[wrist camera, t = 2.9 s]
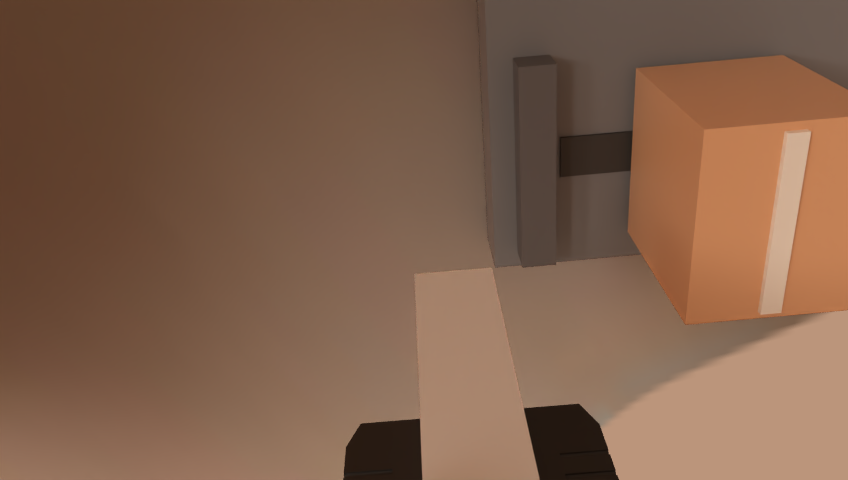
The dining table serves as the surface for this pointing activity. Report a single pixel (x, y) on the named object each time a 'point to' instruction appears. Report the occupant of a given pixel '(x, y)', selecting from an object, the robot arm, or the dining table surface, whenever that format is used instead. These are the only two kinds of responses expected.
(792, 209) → the terracotta fader knob
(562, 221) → the console
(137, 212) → the dining table surface
